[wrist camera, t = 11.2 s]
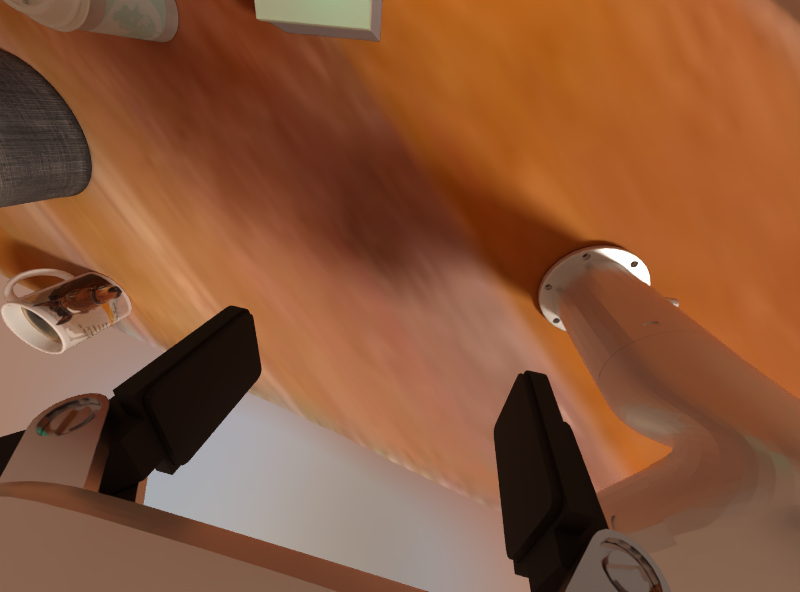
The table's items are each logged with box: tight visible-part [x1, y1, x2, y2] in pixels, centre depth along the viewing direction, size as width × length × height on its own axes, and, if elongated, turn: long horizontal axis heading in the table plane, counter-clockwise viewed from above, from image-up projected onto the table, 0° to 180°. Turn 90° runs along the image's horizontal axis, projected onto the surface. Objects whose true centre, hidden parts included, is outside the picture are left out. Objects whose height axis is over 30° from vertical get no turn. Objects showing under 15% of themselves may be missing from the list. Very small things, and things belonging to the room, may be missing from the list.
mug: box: [1, 268, 132, 354], centre depth 49 cm, size 10×12×11 cm
